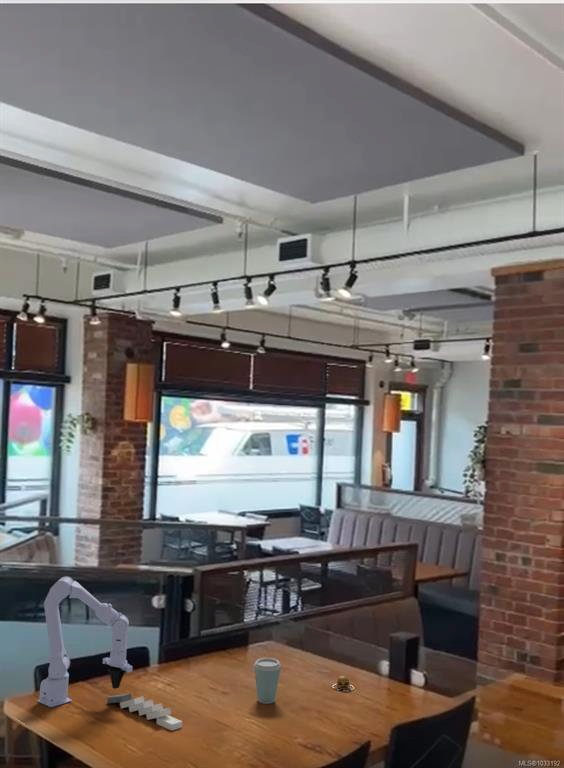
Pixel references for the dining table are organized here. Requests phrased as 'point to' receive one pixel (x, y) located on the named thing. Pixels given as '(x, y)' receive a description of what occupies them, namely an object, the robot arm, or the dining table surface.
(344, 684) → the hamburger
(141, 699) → the tile
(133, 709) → the tile
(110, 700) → the tile
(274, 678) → the disposable coffee cup
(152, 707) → the tile
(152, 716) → the tile
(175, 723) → the tile
